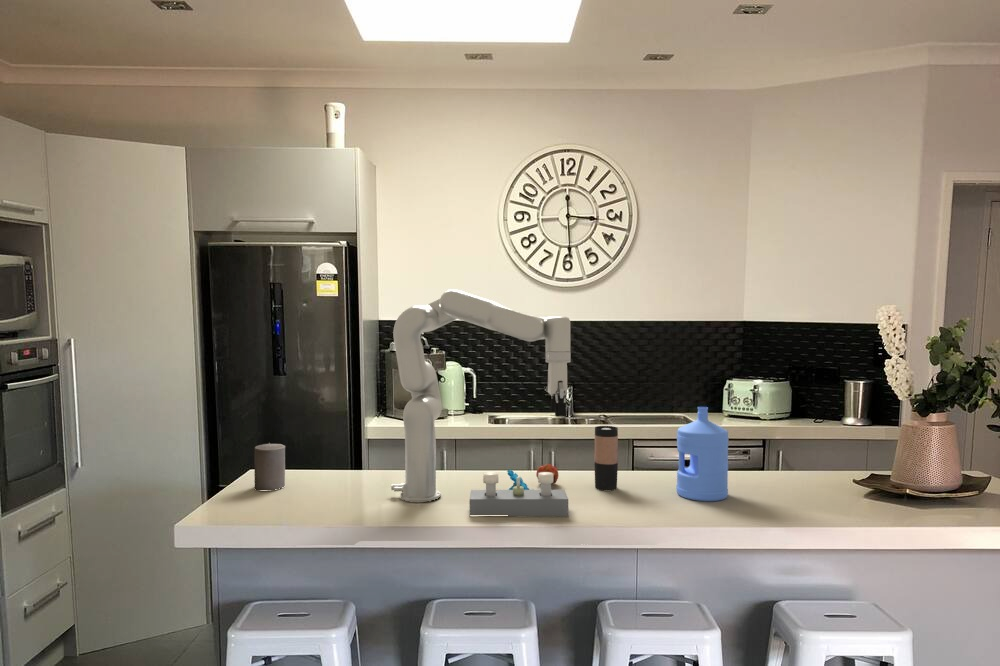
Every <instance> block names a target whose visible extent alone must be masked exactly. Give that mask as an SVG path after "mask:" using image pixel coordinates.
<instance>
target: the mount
mask: <svg viewBox="0 0 1000 666" xmlns="http://www.w3.org/2000/svg"><path fill="white" fill-rule="evenodd" d="M469 492H470V493H469V516H470V515H508V516H534V517H535V518H536V517H537V518H541V517H542V518H543V517H546V518H547V517H548V518H550V517H555V518H556V517H558V518H562V517H566V518H567V517H569V497H568V495H567V492H566V490H565V489H551V496H541V489H530V490H524V495H522V496H515V495H513V490H509V489H496V496H486V489H470V491H469ZM534 517H533V518H534Z"/></svg>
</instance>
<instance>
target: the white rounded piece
mask: <svg viewBox="0 0 1000 666" xmlns="http://www.w3.org/2000/svg"><path fill="white" fill-rule="evenodd" d="M537 480H538V484H540V490H541V496H551V490H552V485H551V483H553V473H550V472H541V473H538V478H537Z"/></svg>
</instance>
